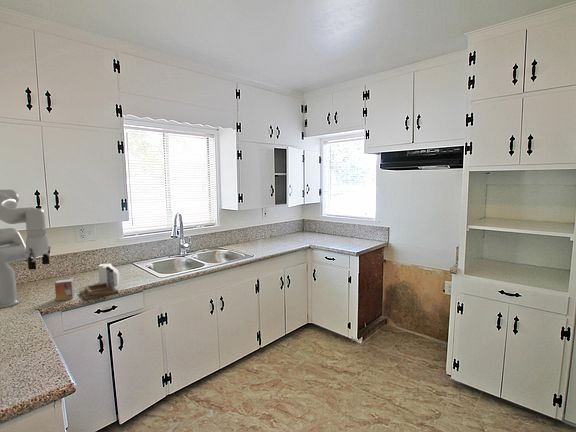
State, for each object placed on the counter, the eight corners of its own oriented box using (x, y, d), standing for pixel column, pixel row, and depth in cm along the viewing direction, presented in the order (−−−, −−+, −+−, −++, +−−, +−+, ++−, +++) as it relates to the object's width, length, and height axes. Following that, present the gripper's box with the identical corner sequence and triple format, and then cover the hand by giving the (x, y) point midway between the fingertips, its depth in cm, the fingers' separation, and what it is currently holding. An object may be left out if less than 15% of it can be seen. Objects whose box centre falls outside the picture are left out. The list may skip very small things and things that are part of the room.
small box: (55, 301, 179) (54, 283, 178) (58, 298, 184) (56, 280, 183) (72, 299, 182) (71, 281, 181) (74, 295, 187) (73, 278, 186)
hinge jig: (79, 293, 191) (77, 270, 189) (110, 287, 202) (109, 265, 201) (85, 300, 180) (83, 275, 178) (118, 293, 192) (116, 269, 190)
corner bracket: (101, 281, 214) (100, 264, 212) (120, 280, 217) (119, 262, 216) (97, 286, 203) (96, 268, 202) (117, 284, 207) (116, 266, 206)
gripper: (40, 230, 168) (43, 262, 170) (15, 236, 151) (18, 271, 153) (55, 230, 169) (58, 262, 170) (31, 236, 151) (35, 271, 153)
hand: (39, 266), depth 162 cm, fingers open, 9 cm apart
